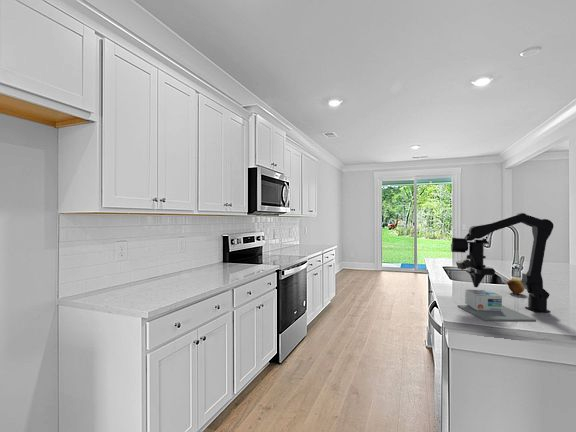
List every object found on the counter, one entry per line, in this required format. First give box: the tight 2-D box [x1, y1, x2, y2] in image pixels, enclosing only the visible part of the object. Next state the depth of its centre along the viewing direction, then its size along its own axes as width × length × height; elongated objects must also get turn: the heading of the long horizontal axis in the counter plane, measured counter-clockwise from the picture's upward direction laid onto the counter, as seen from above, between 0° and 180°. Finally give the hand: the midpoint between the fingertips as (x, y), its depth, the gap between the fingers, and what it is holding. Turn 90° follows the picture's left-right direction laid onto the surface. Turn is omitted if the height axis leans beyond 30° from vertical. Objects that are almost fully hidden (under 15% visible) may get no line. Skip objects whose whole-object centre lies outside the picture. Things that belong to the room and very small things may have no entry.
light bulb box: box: [464, 289, 503, 311], centre depth 144 cm, size 11×7×11 cm
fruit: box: [506, 277, 526, 295], centre depth 173 cm, size 8×8×8 cm
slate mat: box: [457, 304, 537, 322], centre depth 138 cm, size 20×20×1 cm
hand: (475, 287), depth 151 cm, fingers closed
